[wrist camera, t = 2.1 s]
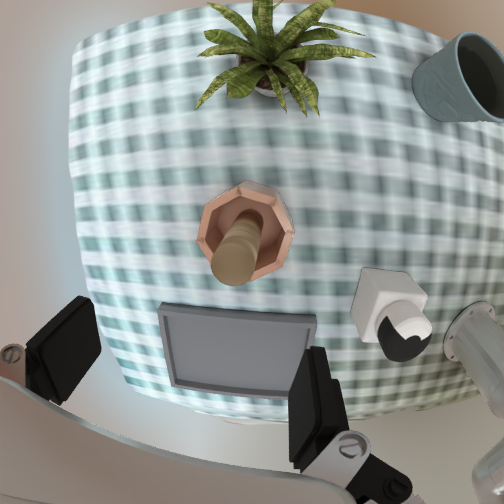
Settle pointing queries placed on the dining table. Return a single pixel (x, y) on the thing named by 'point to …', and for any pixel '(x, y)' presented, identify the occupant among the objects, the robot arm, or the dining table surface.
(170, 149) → the dining table surface
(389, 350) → the medicine bottle
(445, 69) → the blue-grey plant pot
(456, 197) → the dining table surface
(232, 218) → the cup
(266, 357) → the tray
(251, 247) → the dowel
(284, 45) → the house plant
